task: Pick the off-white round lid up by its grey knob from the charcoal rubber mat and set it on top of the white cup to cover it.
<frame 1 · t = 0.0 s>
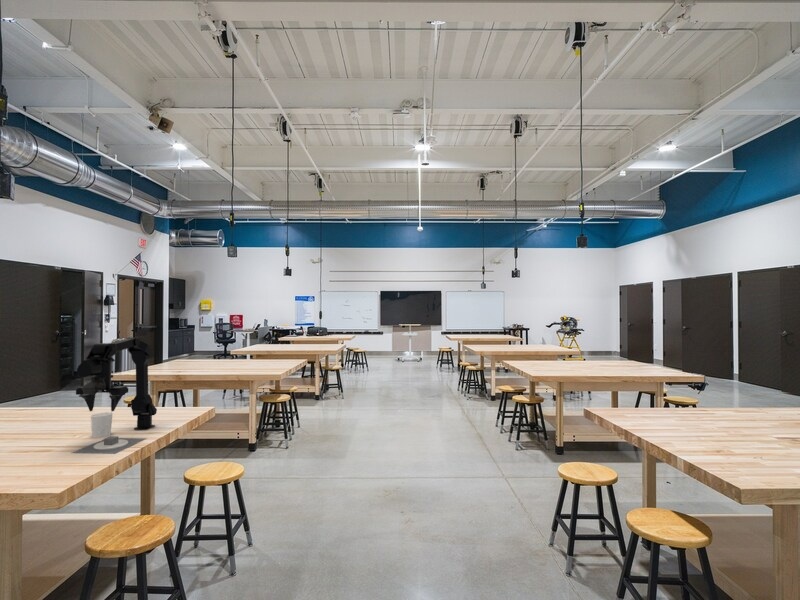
hand: (101, 411, 177), 15 cm above the table, tool pointing down, fingers open, 9 cm apart
charcoal mat: (111, 446, 177), on the table
lid: (111, 445, 177), resting on charcoal mat
white cup: (101, 437, 190), on the table
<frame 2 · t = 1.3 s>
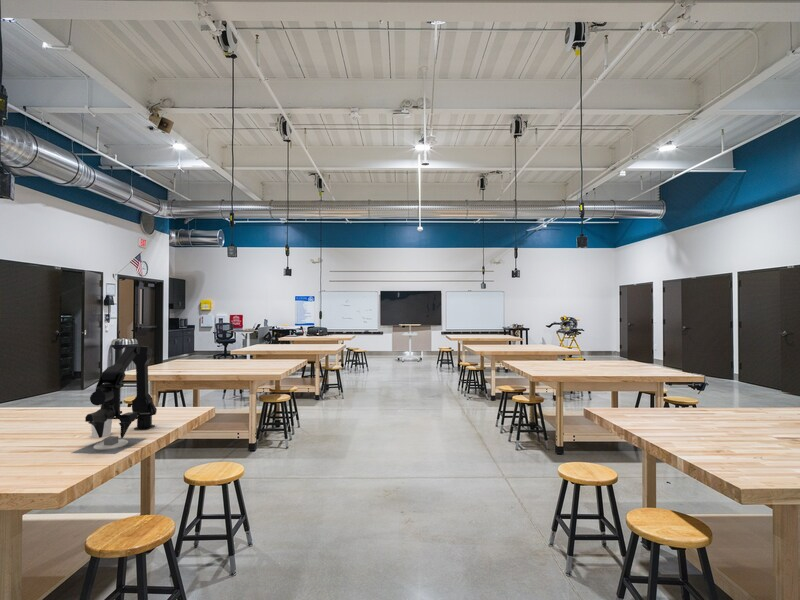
hand: (111, 437, 177), 4 cm above the table, tool pointing down, fingers open, 9 cm apart
nothing on the table moved.
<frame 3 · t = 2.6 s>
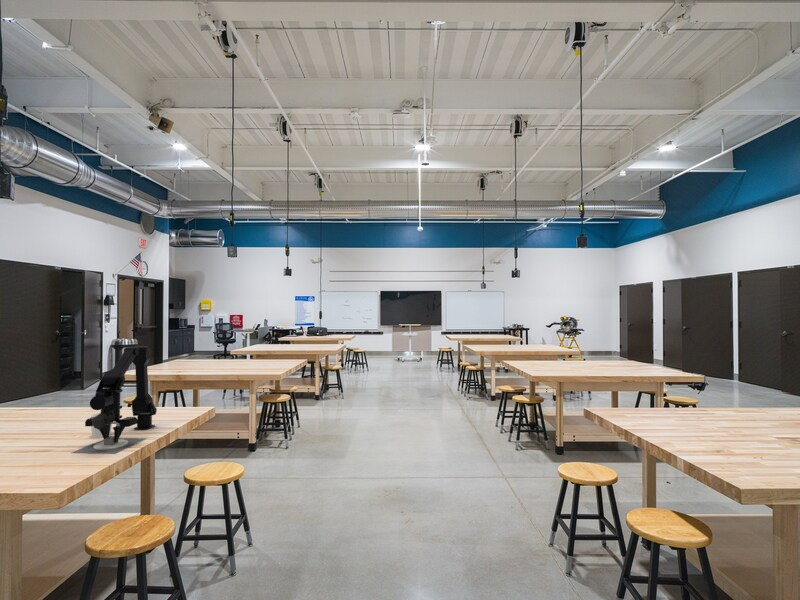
hand: (111, 442, 177), 2 cm above the table, tool pointing down, fingers closed on lid, 4 cm apart
lid: (111, 445, 177), point 1 cm above the table, touching charcoal mat, gripper
everything else where it was.
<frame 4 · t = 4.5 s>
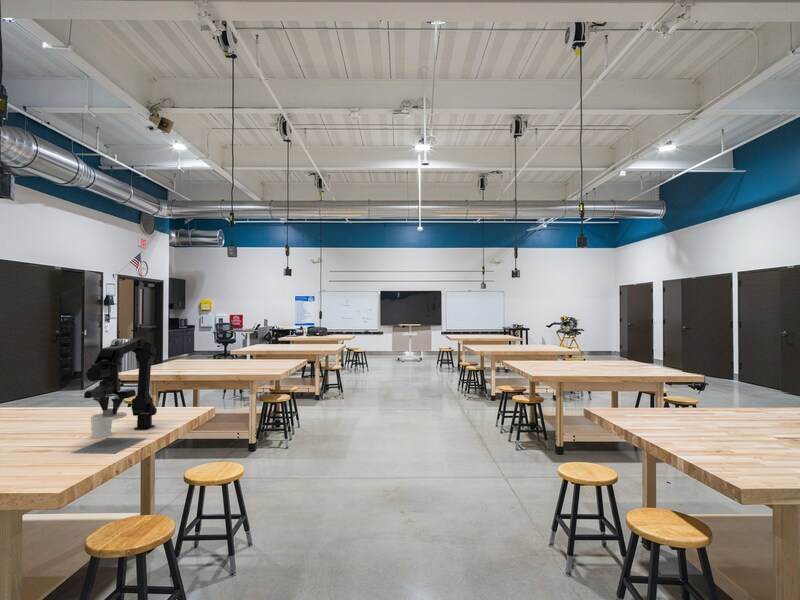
hand: (110, 414, 180), 13 cm above the table, tool pointing down, fingers closed on lid, 4 cm apart
lid: (109, 416, 180), point 11 cm above the table, touching gripper
everything else where it was.
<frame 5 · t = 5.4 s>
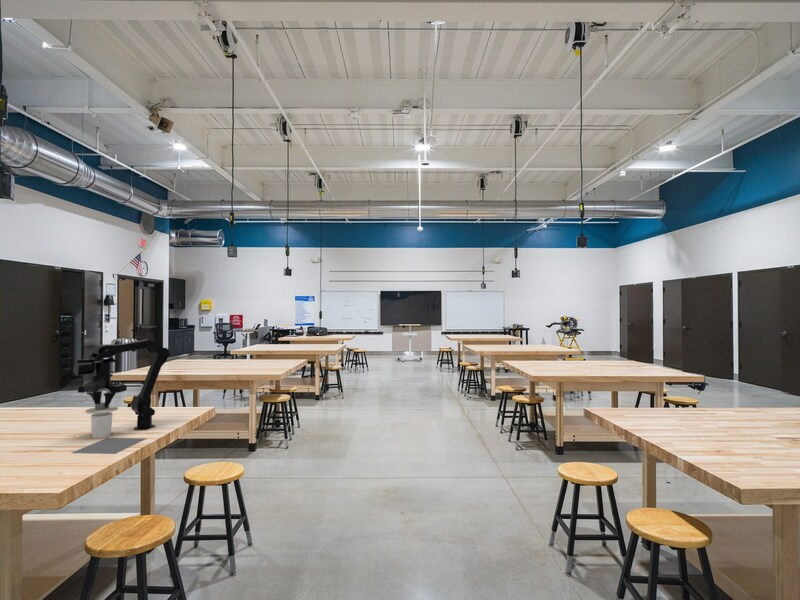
hand: (102, 407, 190), 13 cm above the table, tool pointing down, fingers closed on lid, 4 cm apart
lid: (102, 410, 190), point 12 cm above the table, touching gripper
everything else where it was.
when the fingers open (12 cm above the table, at t = 6.3 s): lid drops 1 cm, resting on white cup.
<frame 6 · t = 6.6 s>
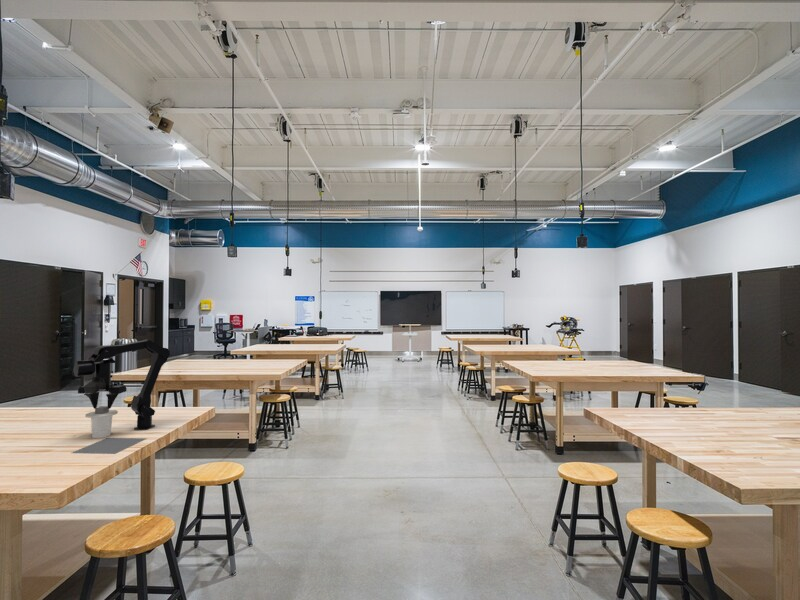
hand: (102, 408, 190), 12 cm above the table, tool pointing down, fingers open, 6 cm apart
lid: (101, 414, 190), point 10 cm above the table, touching white cup
white cup: (101, 437, 190), on the table, touching lid
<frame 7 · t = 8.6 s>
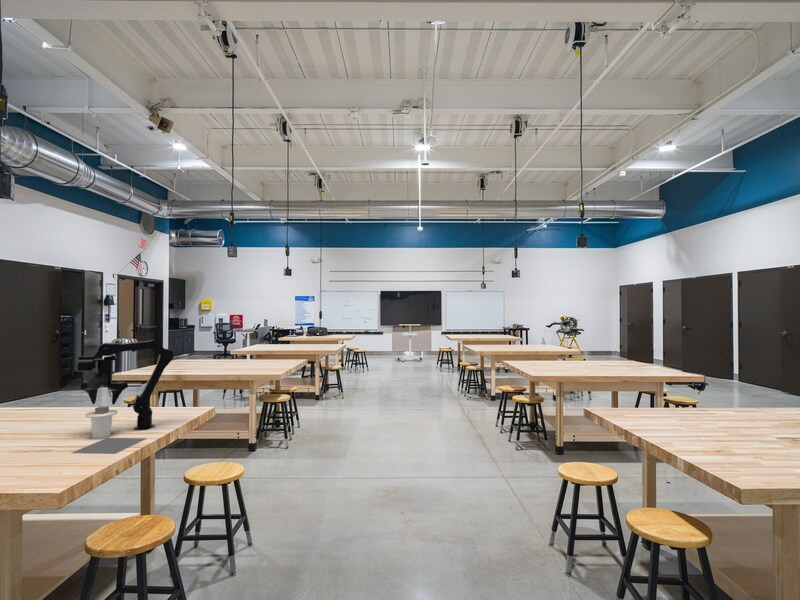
hand: (103, 404, 196), 13 cm above the table, tool pointing down, fingers open, 9 cm apart
nothing on the table moved.
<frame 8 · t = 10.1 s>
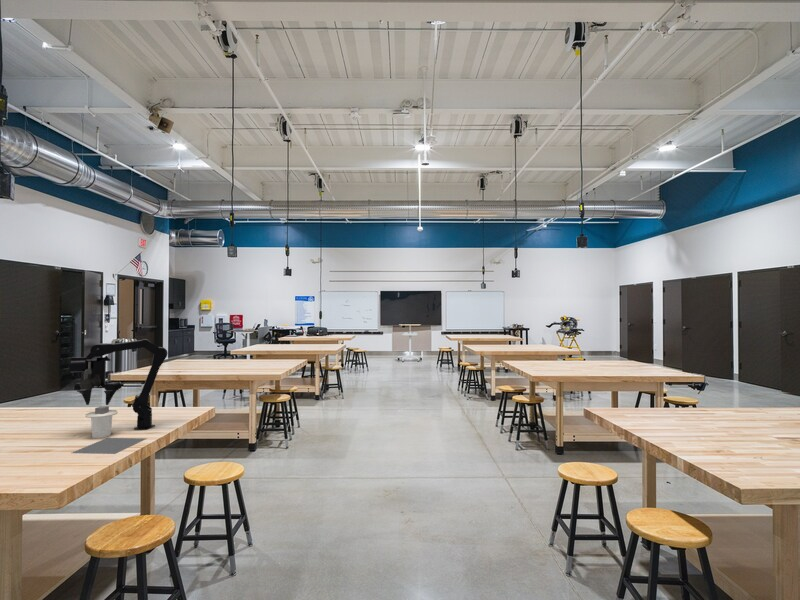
hand: (97, 404, 196), 13 cm above the table, tool pointing down, fingers open, 9 cm apart
nothing on the table moved.
at the end: lid 0.1 cm from the white cup (horizontally); lid point 9.9 cm above the table; white cup tilted 0° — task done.
